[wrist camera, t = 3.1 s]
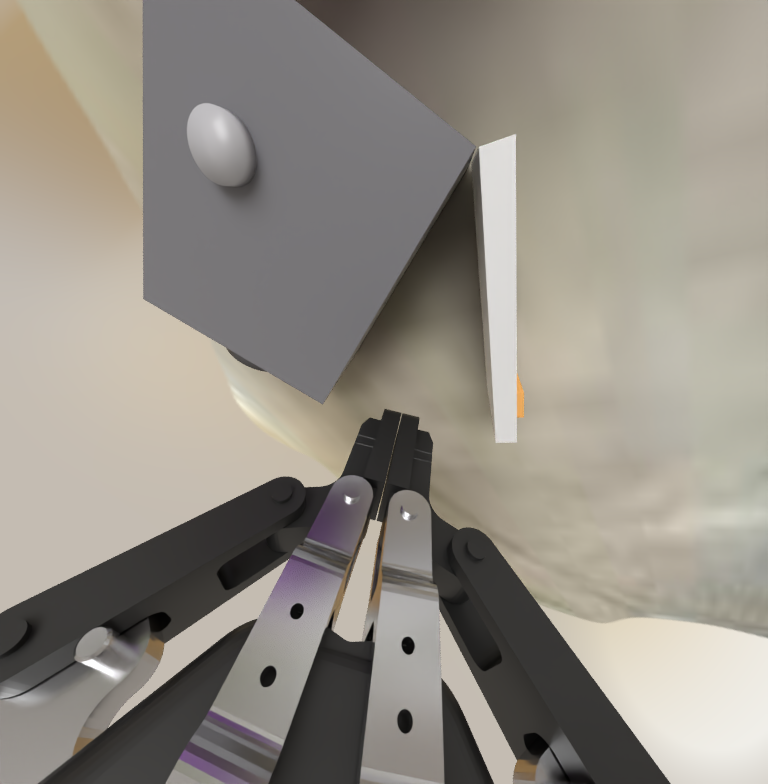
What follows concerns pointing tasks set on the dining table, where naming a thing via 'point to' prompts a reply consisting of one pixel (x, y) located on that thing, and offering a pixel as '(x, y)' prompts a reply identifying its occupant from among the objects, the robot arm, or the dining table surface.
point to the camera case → (281, 183)
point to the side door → (498, 280)
